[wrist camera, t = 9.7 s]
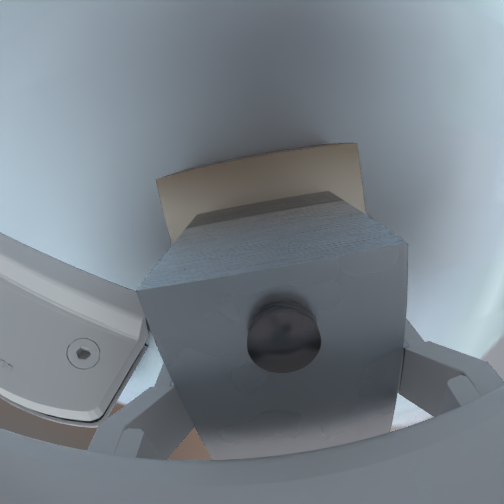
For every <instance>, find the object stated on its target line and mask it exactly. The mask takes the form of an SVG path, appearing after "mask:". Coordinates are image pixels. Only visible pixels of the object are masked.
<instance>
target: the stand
mask: <svg viewBox="0 0 504 504" xmlns="http://www.w3.org/2000/svg"><path fill="white" fill-rule="evenodd" d="M156 184H157V188H158V193H159V197H160V201H161V205H162V209H163V213H164V217H165V221H166V225H167V229H168V233H169V236H170V240H171V244H173V243H174V242H175V240H176V239H177V238H178V237H179V236H180V234H181V233H182V232H183V231H184V230H185V228H186V227H187V226H188V225H189V224H190V222H191V221H192V220H193V219H194V218H195V216H196V215H197V214H201V213H206V212H211V211H216V210H221V209H226V208H231V207H237V206H242V205H247V204H253V203H258V202H264V201H269V200H275V199H281V198H286V197H292V196H298V195H304V194H310V193H317V192H323V191H330V192H331V193H333V194H335V195H336V196H338V197H339V198H341V199H343V200H344V201H346V202H347V203H349V204H350V205H352V206H354V207H355V208H357V209H358V210H360V211H361V212H363V213H364V214H366V213H365V203H364V193H363V185H362V177H361V169H360V162H359V155H358V148H357V143H339V144H324V145H316V146H309V147H302V148H295V149H289V150H283V151H277V152H271V153H265V154H259V155H254V156H248V157H243V158H238V159H233V160H228V161H223V162H218V163H214V164H209V165H204V166H200V167H196V168H191V169H187V170H183V171H180V172H177V173H174V174H171V175H168V176H165V177H162V178H159V179H156Z"/></svg>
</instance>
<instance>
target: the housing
mask: <svg viewBox="0 0 504 504" xmlns="http://www.w3.org/2000/svg"><path fill="white" fill-rule="evenodd" d="M407 285H408V243H407V242H405V241H404V240H403V239H401V238H400V237H398V236H397V235H395V234H394V233H392V232H391V231H390V230H388V229H387V228H385V227H384V226H382V225H381V224H379V223H378V222H376V221H375V220H373V219H372V218H370V217H369V216H367V215H366V214H364V213H363V212H361V211H360V210H358V209H357V208H355V207H354V206H352V205H350V204H349V203H347V202H346V201H344V200H343V199H341V198H339V197H338V196H336V195H335V194H333V193H331V192H330V191H323V192H317V193H310V194H304V195H298V196H292V197H286V198H281V199H275V200H269V201H264V202H258V203H253V204H247V205H242V206H237V207H231V208H226V209H221V210H216V211H211V212H206V213H201V214H197V215H196V216H195V218H194V219H193V220H192V221H191V222H190V224H189V225H188V226H187V227H186V228H185V230H184V231H183V232H182V233H181V234H180V236H179V237H178V238H177V239H176V240H175V242H174V243H173V244H172V245H171V247H170V248H169V249H168V250H167V252H166V253H165V254H164V255H163V257H162V258H161V259H160V260H159V262H158V263H157V264H156V265H155V267H154V268H153V269H152V270H151V272H150V273H149V274H148V276H147V277H146V278H145V279H144V281H143V282H142V283H141V285H140V286H139V287H138V289H137V290H136V292H137V295H138V298H139V301H140V304H141V306H142V309H143V312H144V314H145V317H146V320H147V322H148V325H149V327H150V330H151V332H152V335H153V337H154V340H155V342H156V345H157V347H158V350H159V352H160V354H161V357H162V359H163V361H164V364H165V366H166V368H167V370H168V373H169V375H170V377H171V379H172V382H173V384H174V386H175V388H176V390H177V392H178V394H179V397H180V399H181V401H182V403H183V405H184V407H185V409H186V411H187V413H188V415H189V417H190V419H191V421H192V423H193V425H194V427H195V429H196V430H197V432H198V434H199V436H200V438H201V440H202V442H203V444H204V445H205V447H206V449H207V451H208V452H209V454H210V456H211V458H212V460H228V459H245V458H258V457H268V456H277V455H285V454H292V453H299V452H305V451H311V450H317V449H323V448H328V447H333V446H338V445H342V444H347V443H351V442H355V441H359V440H363V439H367V438H371V437H375V436H378V435H382V434H385V433H389V432H390V430H391V425H392V420H393V415H394V410H395V404H396V398H397V392H398V386H399V379H400V372H401V364H402V356H403V346H404V336H405V324H406V308H407Z"/></svg>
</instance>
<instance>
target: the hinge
mask: <svg viewBox="0 0 504 504" xmlns="http://www.w3.org/2000/svg"><path fill="white" fill-rule="evenodd" d="M148 338H149V335H148V330H147V325H146V317H145V314H144V312H143V309H142V306H141V304H140V301H139V298H138V295H137V292H135V291H132V290H130V289H127V288H125V287H122V286H120V285H117V284H114V283H112V282H109V281H107V280H104V279H102V278H99V277H97V276H95V275H92V274H90V273H87V272H85V271H82V270H80V269H78V268H75V267H73V266H71V265H68V264H66V263H64V262H62V261H59V260H57V259H55V258H53V257H50V256H48V255H46V254H44V253H41V252H39V251H37V250H35V249H33V248H31V247H29V246H26V245H24V244H22V243H20V242H18V241H16V240H14V239H12V238H10V237H8V236H6V235H4V234H2V233H0V398H2V399H4V400H5V401H7V402H8V403H10V404H12V405H13V406H15V407H18V408H20V409H22V410H24V411H26V412H29V413H31V414H33V415H36V416H38V417H41V418H45V419H48V420H51V421H55V422H58V423H63V424H68V425H74V426H81V427H91V428H96V427H98V426H99V425H100V424H101V423H102V422H104V421H105V420H107V418H108V416H109V414H110V413H111V410H112V409H113V407H114V405H115V404H116V402H117V400H118V398H119V396H120V395H121V393H122V391H123V389H124V388H125V386H126V384H127V382H128V381H129V379H130V377H131V375H132V374H133V372H134V370H135V368H136V367H137V365H138V363H139V362H140V360H141V358H142V356H143V355H144V353H145V351H146V350H147V348H148V347H147V346H145V345H144V344H145V343H146V341H147V340H148Z"/></svg>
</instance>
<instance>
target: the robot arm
mask: <svg viewBox="0 0 504 504" xmlns="http://www.w3.org/2000/svg"><path fill="white" fill-rule="evenodd" d="M397 393H399V394H400V395H402V396H403V397H405V398H406V399H408V400H409V401H411V402H412V403H414V404H415V405H417V406H418V407H420V408H421V409H423V410H425V411H426V412H428V413H429V414H431V415H432V416H434V417H433V418H431V419H428V420H425V421H423V422H420V423H417V424H414V425H411V426H408V427H405V428H402V429H399V430H395V431H392V432H389V433H385V434H382V435H378V436H375V437H371V438H367V439H363V440H359V441H355V442H351V443H347V444H342V445H338V446H333V447H328V448H323V449H317V450H311V451H305V452H299V453H292V454H285V455H277V456H268V457H258V458H245V459H228V460H167V458H168V457H169V456H170V455H171V454H172V453H173V451H174V450H175V449H176V448H177V447H178V446H179V444H180V443H181V442H182V441H183V440H184V439H185V438H186V436H187V435H188V434H189V433H190V432H191V430H192V429H193V428H194V425H193V423H192V421H191V419H190V417H189V415H188V413H187V411H186V409H185V407H184V405H183V403H182V401H181V399H180V397H179V394H178V392H177V390H176V388H175V386H174V384H173V382H172V379H171V377H170V375H169V373H168V370H167V368H166V366H165V364H164V363H163V366H162V368H161V371H160V373H159V376H158V379H157V381H156V384H155V386H154V387H150V388H148V389H147V390H146V391H144V392H143V393H142V394H140V395H139V396H138V397H136V398H135V399H134V400H132V401H131V402H130V403H128V404H127V405H126V406H124V407H123V408H122V409H120V410H119V411H118V412H116V413H115V414H114V415H112V416H111V417H109V418H108V419H107V420H105V421H104V422H102V423H101V424H100V425H99V426H98V429H97V431H96V433H95V435H94V437H93V439H92V441H91V443H90V446H89V448H88V450H87V451H85V450H80V449H74V448H70V447H65V446H61V445H56V444H52V443H48V442H44V441H40V440H36V439H33V438H29V437H26V436H23V435H19V434H16V433H13V432H10V431H7V430H3V429H1V428H0V504H504V381H503V379H502V378H501V377H500V376H499V375H498V373H497V372H496V371H495V370H494V369H493V368H492V366H491V365H490V364H489V363H488V362H486V361H483V360H480V359H478V358H475V357H472V356H469V355H466V354H463V353H461V352H458V351H455V350H452V349H449V348H447V347H444V346H441V345H438V344H436V343H433V342H430V341H428V342H424V340H423V339H422V338H421V336H420V335H419V334H418V332H417V331H416V330H415V329H414V327H413V326H412V325H411V323H410V322H409V321H408V320H407V318H406V324H405V336H404V346H403V356H402V364H401V372H400V379H399V386H398V392H397Z"/></svg>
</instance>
